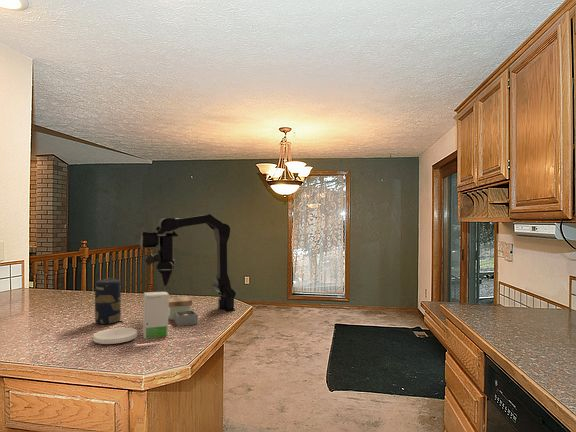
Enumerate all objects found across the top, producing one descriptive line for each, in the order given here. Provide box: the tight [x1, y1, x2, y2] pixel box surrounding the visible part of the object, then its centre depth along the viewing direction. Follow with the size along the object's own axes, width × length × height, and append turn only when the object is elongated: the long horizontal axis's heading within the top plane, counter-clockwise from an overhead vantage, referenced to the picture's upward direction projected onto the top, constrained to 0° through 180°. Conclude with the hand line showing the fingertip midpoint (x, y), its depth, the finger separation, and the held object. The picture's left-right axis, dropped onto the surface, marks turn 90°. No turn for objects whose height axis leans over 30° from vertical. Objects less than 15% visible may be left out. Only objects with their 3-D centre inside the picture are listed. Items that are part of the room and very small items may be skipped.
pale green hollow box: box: [168, 305, 191, 321], centre depth 169 cm, size 8×8×6 cm
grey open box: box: [174, 309, 199, 327], centre depth 159 cm, size 8×8×4 cm
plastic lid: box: [93, 327, 138, 345], centre depth 139 cm, size 14×14×2 cm
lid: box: [169, 295, 193, 307], centre depth 169 cm, size 9×9×2 cm
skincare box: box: [142, 291, 170, 340], centre depth 142 cm, size 8×7×16 cm
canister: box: [94, 277, 122, 325], centre depth 162 cm, size 10×10×18 cm
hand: (166, 283), depth 171 cm, fingers open, 9 cm apart
